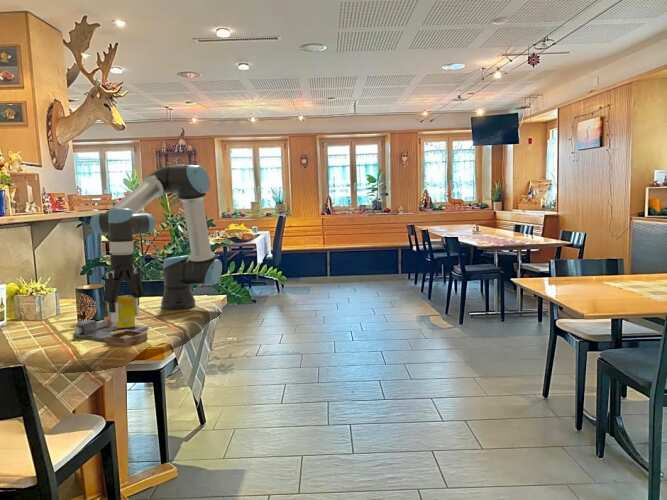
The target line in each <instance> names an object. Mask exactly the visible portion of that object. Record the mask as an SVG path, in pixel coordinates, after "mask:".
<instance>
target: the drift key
mask: <svg viewBox="0 0 667 500" xmlns="http://www.w3.org/2000/svg"><path fill="white" fill-rule="evenodd" d="M112 322H113V321H111V317H104V320H99V321H96V325H97V328H101V327H104V326H111V325H112ZM83 332H84V330H83V326H79V327H77V326H75V327H74V333H77V334H80V333H83Z"/></svg>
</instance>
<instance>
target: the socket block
mask: <svg viewBox="0 0 667 500" xmlns="http://www.w3.org/2000/svg"><path fill="white" fill-rule="evenodd" d="M96 322H97V321H95V320H91V319H86V320H82V321H79V322H78V321H77V322H76V327H79V326H83V330H84V332H83V333H80V334H77V333H75V332H73V333H72V336H73V337H74V338H79V337H80V338H81V339H85V338H86V339H87V340H91V339H93V341H98V340H100V341H99V342H104V341H105V336H108V335H111V334H114V332H112V331H113V330H114V331H117V326H116V322H113V321H112V325H111V326H104V327H101V328H97V325H96ZM132 330H133V331H140V332H146V331H148V330H149V326H146V325H138V324H135V329H132ZM86 339H85V340H86Z"/></svg>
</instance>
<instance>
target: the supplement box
mask: <svg viewBox="0 0 667 500" xmlns="http://www.w3.org/2000/svg"><path fill="white" fill-rule="evenodd" d="M116 303H118V314H119V322H116V326H117V330H116V331H118V332H119V331H124V330H133V329H135V325H136V320H135V319H136V318H135V317H136V316H134V298H133V295H132V294H127V295H126V294H125V295H118V296H117V299H116Z"/></svg>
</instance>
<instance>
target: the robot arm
mask: <svg viewBox="0 0 667 500" xmlns="http://www.w3.org/2000/svg"><path fill="white" fill-rule="evenodd" d="M210 183H211V182H210V176H209V174H208V172H207V171H206V169H205V168H204V167H203V166H201V165H196V164H195V165H193V164H184V165H183V164H182V165H180V164H179V165H167V166H164V167H161V168H158V169H156V170H154V171H153V172H151V173H150V174H148V175H146V177H144V178H143V180H142V181H141V184H140V185H138V186H137V187H135V188H134V189H133V190H132V191H131V192H130V193H128V194H127V195H126V196H125V197H123V198H122V199H120V200H119V201H118V202H117V203H116V204H114V205H113V206H112V207H110V208H109V209H108V210H106V211H105V212H99V213H94V214H93V215H92V216H91V218H90V220H89V223H90V225H89V226H90V227H91V230H92V232H94V233H96V234H103V235H109V253H111V254H110V257H109V258H110V265H111V267H112V268H111V271H107V272H106V271H105V272H104V274H103V275H104V279H105V280H104V286H103V287H104V297H103V301H104V302H108V303H109V311H110V312H111V321H112V322H119V314H118V303H116V299H117V296H119V292H120V289H121V285H122V284H123V282H126V284H127V287H128V288H129V291H130V295H133V298H134V316H135V317H140V316H139V311H140V310H139V306H140V298H142V296H143V295H144V287H143V281H142V277H141V271H142V270H141V267H134V264H135V254H134V252H135V250H134V249H135V247H134V244H135V243H134V236H135V235H147V234H150V233H152V232H153V231H154V230H155V228H156V220H155V218H154V216H153V215H151V214H150V213H146V212H141V211H142V210H143V208H145V207H146V206H147V205H148V204H150V203H151V202H152V201H153V200H154V199H157V198H158V199H159V198H160V197H162V196H163V195H165V194H177V198H178V200H179V201H180V202H182V207H183V212H184V218H185V224H186V230H187V236H188V242H189V246H190V255H178V256H172V257H167V258H165V259H164V260H163V265H162V266H163V267H162V269H163V285H164V291H163V295H162V298H161V302H160V306H161V309H164V310H184V309H189V308H193V307H195V306H196V298H195V297H194V293H193V291H192V285H199V286H213V285H216V284H218V283H219V281H220V279H221V276H222V273H223V272H222V271H223V266H222V265H223V262H222V261H221V260H220V259H217V258H216V253H214V252H213V251H212V250H211V243H210V235H209V230H208V223H207V217H206V210H205V204H204V199H205V198H206V196H207V192H208V191H209V190H210V185H211V184H210ZM139 212H140V213H139ZM112 298H113V299H112Z"/></svg>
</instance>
